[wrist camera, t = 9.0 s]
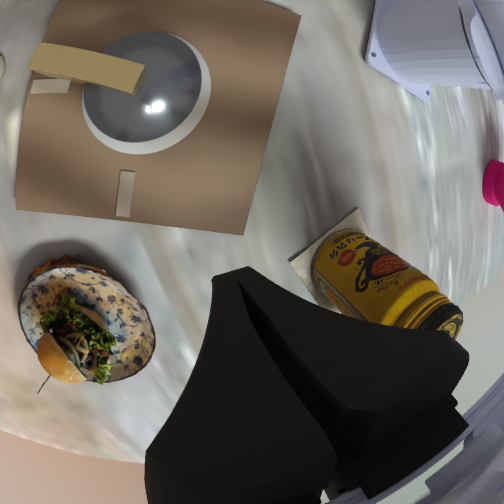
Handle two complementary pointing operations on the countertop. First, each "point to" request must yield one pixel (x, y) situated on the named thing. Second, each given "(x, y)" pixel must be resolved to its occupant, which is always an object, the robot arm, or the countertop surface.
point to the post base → (174, 143)
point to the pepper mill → (494, 184)
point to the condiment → (372, 281)
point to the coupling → (129, 82)
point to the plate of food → (84, 323)
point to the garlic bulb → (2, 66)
